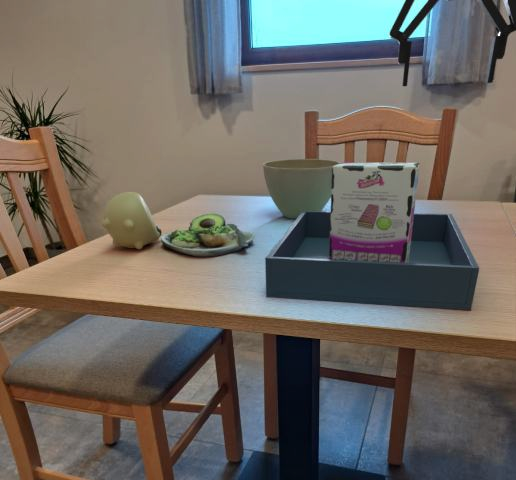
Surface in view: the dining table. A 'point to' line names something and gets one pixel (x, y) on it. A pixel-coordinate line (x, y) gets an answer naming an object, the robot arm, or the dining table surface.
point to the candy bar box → (372, 211)
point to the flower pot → (299, 184)
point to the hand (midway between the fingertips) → (445, 84)
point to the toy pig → (130, 221)
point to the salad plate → (207, 237)
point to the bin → (375, 267)
